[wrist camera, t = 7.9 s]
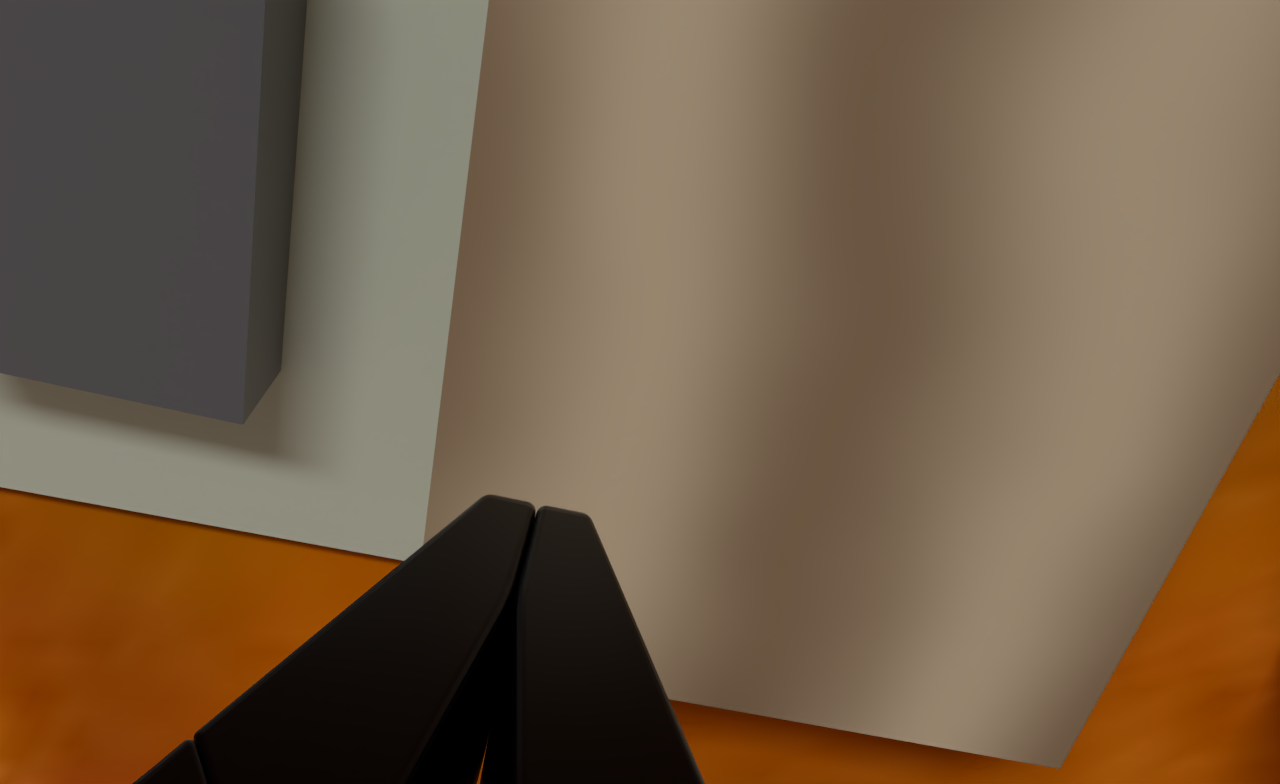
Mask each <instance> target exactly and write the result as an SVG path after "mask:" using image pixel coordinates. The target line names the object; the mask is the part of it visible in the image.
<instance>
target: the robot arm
mask: <svg viewBox="0 0 1280 784" xmlns="http://www.w3.org/2000/svg"><path fill="white" fill-rule="evenodd" d="M535 514H536V515H535ZM487 741H488V742H487ZM486 746H487V747H486ZM485 750H486V753H485ZM484 754H485V758H484ZM483 758H484V763H483V769H482V774H481V780H480V784H705V783H704V780H703V778H702V776H701V773H700V771H699V769H698V766H697V764H696V761H695V759H694V757H693V754H692V752H691V750H690V747H689V745H688V743H687V740H686V738H685V736H684V733H683V731H682V729H681V726H680V724H679V722H678V719H677V717H676V715H675V712H674V710H673V708H672V705H671V703H670V701H669V698H668V696H667V694H666V691H665V689H664V687H663V684H662V682H661V680H660V677H659V675H658V673H657V670H656V668H655V666H654V663H653V661H652V659H651V656H650V654H649V652H648V649H647V647H646V645H645V642H644V640H643V638H642V635H641V633H640V631H639V628H638V626H637V624H636V621H635V619H634V617H633V614H632V612H631V610H630V607H629V605H628V603H627V600H626V598H625V596H624V593H623V591H622V589H621V586H620V584H619V582H618V579H617V577H616V575H615V572H614V570H613V568H612V565H611V563H610V561H609V558H608V556H607V554H606V551H605V549H604V547H603V544H602V542H601V540H600V537H599V535H598V533H597V530H596V528H595V526H594V523H593V521H592V519H591V518H590V517H589V516H588V515H587V514H585V513H582V512H577V511H572V510H567V509H562V508H557V507H552V506H542V507H540V508H539V509H538V510H537V513H536V509H535V506H534V505H533V504H532V503H530V502H528V501H523V500H518V499H513V498H508V497H503V496H498V495H492V494H488V495H485V496H483V497H481V498H480V499H479V500H477V501H476V502H475V503H474V504H472V505H471V506H470V507H469V508H468V509H466V510H465V511H464V512H463V513H462V514H460V515H459V516H458V517H457V518H456V519H454V520H453V521H452V522H451V523H449V524H448V525H447V526H446V527H445V528H443V529H442V530H441V531H440V532H439V533H437V534H436V535H435V536H434V537H432V538H431V539H430V540H429V541H428V542H426V543H425V544H424V545H423V546H422V547H420V548H419V549H418V550H417V551H415V552H414V553H413V554H412V555H411V556H409V557H408V558H407V559H406V560H405V561H403V562H402V563H401V564H400V565H399V566H397V567H396V568H395V569H394V570H392V571H391V572H390V573H389V574H388V575H386V576H385V577H384V578H383V579H382V580H380V581H379V582H378V583H377V584H375V585H374V586H373V587H372V588H371V589H369V590H368V591H367V592H366V593H365V594H363V595H362V596H361V597H360V598H358V599H357V600H356V601H355V602H354V603H352V604H351V605H350V606H349V607H348V608H346V609H345V610H344V611H343V612H342V613H340V614H339V615H338V616H337V617H335V618H334V619H333V620H332V621H331V622H329V623H328V624H327V625H326V626H325V627H323V628H322V629H321V630H320V631H318V632H317V633H316V634H315V635H314V636H312V637H311V638H310V639H309V640H308V641H306V642H305V643H304V644H303V645H301V646H300V647H299V648H298V649H297V650H295V651H294V652H293V653H292V654H291V655H289V656H288V657H287V658H286V659H284V660H283V661H282V662H281V663H280V664H278V665H277V666H276V667H275V668H274V669H272V670H271V671H270V672H269V673H267V674H266V675H265V676H264V677H263V678H261V679H260V680H259V681H258V682H257V683H255V684H254V685H253V686H252V687H251V688H249V689H248V690H247V691H246V692H244V693H243V694H242V695H241V696H240V697H238V698H237V699H236V700H235V701H234V702H232V703H231V704H230V705H229V706H227V707H226V708H225V709H224V710H223V711H221V712H220V713H219V714H218V715H217V716H215V717H214V718H213V719H212V720H210V721H209V722H208V723H207V724H206V725H204V726H203V727H202V728H201V729H200V730H198V731H197V732H196V733H195V735H194V741H192V740H186V741H184V742H183V743H181V744H180V745H179V746H178V747H177V748H176V749H174V750H173V751H172V752H171V753H170V754H168V755H167V756H166V757H165V758H164V759H162V760H161V761H160V762H159V763H158V764H156V765H155V766H154V767H153V768H152V769H150V770H149V771H148V772H147V773H145V774H144V775H143V776H142V777H140V778H139V779H138V780H137V781H135V782H134V783H133V784H477V781H478V777H479V773H480V769H481V766H482V762H483Z"/></svg>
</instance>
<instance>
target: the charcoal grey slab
mask: <svg viewBox="0 0 1280 784" xmlns="http://www.w3.org/2000/svg"><path fill="white" fill-rule="evenodd" d="M306 10H307V0H0V373H2V374H7V375H12V376H16V377H21V378H26V379H30V380H35V381H40V382H44V383H49V384H54V385H59V386H63V387H68V388H73V389H77V390H82V391H87V392H91V393H96V394H101V395H105V396H110V397H115V398H120V399H124V400H129V401H134V402H138V403H143V404H148V405H152V406H157V407H162V408H166V409H171V410H176V411H180V412H185V413H190V414H195V415H199V416H204V417H209V418H213V419H218V420H223V421H227V422H232V423H237V424H241V425H243V424H244V423H245V421H246V420H247V418H248V417H249V415H250V414H251V413H252V411H253V410H254V408H255V407H256V405H257V404H258V402H259V401H260V400H261V398H262V397H263V395H264V394H265V392H266V391H267V390H268V388H269V387H270V385H271V384H272V382H273V381H274V380H275V378H276V377H277V375H278V374H279V372H280V371H281V362H282V348H283V334H284V320H285V306H286V292H287V278H288V264H289V250H290V236H291V221H292V207H293V193H294V179H295V165H296V151H297V137H298V123H299V109H300V95H301V81H302V67H303V52H304V38H305V24H306Z"/></svg>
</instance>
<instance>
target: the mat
mask: <svg viewBox="0 0 1280 784" xmlns="http://www.w3.org/2000/svg"><path fill="white" fill-rule="evenodd" d="M488 3H489V0H307V10H306V24H305V38H304V52H303V67H302V81H301V95H300V109H299V123H298V137H297V151H296V165H295V179H294V193H293V207H292V221H291V236H290V250H289V264H288V278H287V292H286V306H285V320H284V334H283V348H282V362H281V371H280V372H279V374H278V375H277V377H276V378H275V380H274V381H273V382H272V384H271V385H270V387H269V388H268V390H267V391H266V392H265V394H264V395H263V397H262V398H261V400H260V401H259V402H258V404H257V405H256V407H255V408H254V410H253V411H252V413H251V414H250V415H249V417H248V418H247V420H246V421H245V423H244V424H243V425H241V424H237V423H232V422H227V421H223V420H218V419H213V418H209V417H204V416H199V415H195V414H190V413H185V412H180V411H176V410H171V409H166V408H162V407H157V406H152V405H148V404H143V403H138V402H134V401H129V400H124V399H120V398H115V397H110V396H105V395H101V394H96V393H91V392H87V391H82V390H77V389H73V388H68V387H63V386H59V385H54V384H49V383H44V382H40V381H35V380H30V379H26V378H21V377H16V376H12V375H7V374H2V373H0V487H3V488H8V489H14V490H19V491H25V492H30V493H36V494H41V495H47V496H52V497H58V498H63V499H69V500H74V501H80V502H85V503H91V504H96V505H101V506H107V507H112V508H118V509H123V510H129V511H134V512H140V513H145V514H151V515H156V516H162V517H167V518H173V519H178V520H184V521H189V522H195V523H200V524H205V525H211V526H216V527H222V528H227V529H233V530H238V531H244V532H249V533H255V534H260V535H266V536H271V537H277V538H282V539H288V540H293V541H299V542H304V543H309V544H315V545H320V546H326V547H331V548H337V549H342V550H348V551H353V552H359V553H364V554H370V555H375V556H381V557H386V558H392V559H397V560H402V561H405V560H406V559H407V558H408V557H409V556H411V555H412V554H413V553H414V552H415V551H417V550H418V549H419V548H420V547H422V546H423V542H424V534H425V526H426V517H427V509H428V501H429V492H430V484H431V476H432V468H433V459H434V451H435V443H436V434H437V426H438V418H439V409H440V401H441V393H442V385H443V376H444V368H445V360H446V351H447V343H448V335H449V326H450V318H451V310H452V302H453V293H454V285H455V277H456V268H457V260H458V252H459V244H460V235H461V227H462V219H463V210H464V202H465V194H466V185H467V177H468V169H469V161H470V152H471V144H472V136H473V127H474V119H475V111H476V102H477V94H478V86H479V78H480V69H481V61H482V53H483V44H484V36H485V28H486V19H487V11H488Z"/></svg>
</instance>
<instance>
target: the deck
mask: <svg viewBox="0 0 1280 784" xmlns="http://www.w3.org/2000/svg"><path fill="white" fill-rule="evenodd" d="M1279 374H1280V0H489V3H488V11H487V19H486V28H485V36H484V44H483V53H482V61H481V69H480V78H479V86H478V94H477V102H476V111H475V119H474V127H473V136H472V144H471V152H470V161H469V169H468V177H467V185H466V194H465V202H464V210H463V219H462V227H461V235H460V244H459V252H458V260H457V268H456V277H455V285H454V293H453V302H452V310H451V318H450V326H449V335H448V343H447V351H446V360H445V368H444V376H443V385H442V393H441V401H440V409H439V418H438V426H437V434H436V443H435V451H434V459H433V468H432V476H431V484H430V492H429V501H428V509H427V517H426V526H425V534H424V542H423V545H424V544H425V543H426V542H428V541H429V540H430V539H431V538H432V537H434V536H435V535H436V534H437V533H439V532H440V531H441V530H442V529H443V528H445V527H446V526H447V525H448V524H449V523H451V522H452V521H453V520H454V519H456V518H457V517H458V516H459V515H460V514H462V513H463V512H464V511H465V510H466V509H468V508H469V507H470V506H471V505H472V504H474V503H475V502H476V501H477V500H479V499H480V498H481V497H483V496H485V495H488V494H492V495H498V496H503V497H508V498H513V499H518V500H523V501H528V502H530V503H532V504H533V505H534V506H535V509H536V513H537V510H538V509H539V508H540V507H542V506H552V507H557V508H562V509H567V510H572V511H577V512H582V513H585V514H587V515H588V516H589V517H590V518H591V519H592V521H593V523H594V526H595V528H596V530H597V533H598V535H599V537H600V540H601V542H602V544H603V547H604V549H605V551H606V554H607V556H608V558H609V561H610V563H611V565H612V568H613V570H614V572H615V575H616V577H617V579H618V582H619V584H620V586H621V589H622V591H623V593H624V596H625V598H626V600H627V603H628V605H629V607H630V610H631V612H632V614H633V617H634V619H635V621H636V624H637V626H638V628H639V631H640V633H641V635H642V638H643V640H644V642H645V645H646V647H647V649H648V652H649V654H650V656H651V659H652V661H653V663H654V666H655V668H656V670H657V673H658V675H659V677H660V680H661V682H662V684H663V687H664V689H665V691H666V694H667V696H668V698H669V699H671V700H676V701H682V702H687V703H693V704H699V705H704V706H710V707H715V708H721V709H727V710H732V711H738V712H744V713H749V714H755V715H760V716H766V717H772V718H777V719H783V720H788V721H794V722H800V723H805V724H811V725H816V726H822V727H828V728H833V729H839V730H845V731H850V732H856V733H861V734H867V735H873V736H878V737H884V738H889V739H895V740H901V741H906V742H912V743H917V744H923V745H929V746H934V747H940V748H946V749H951V750H957V751H962V752H968V753H974V754H979V755H985V756H990V757H996V758H1002V759H1007V760H1013V761H1018V762H1024V763H1030V764H1035V765H1041V766H1047V767H1052V768H1058V769H1060V768H1061V766H1062V764H1063V762H1064V760H1065V759H1066V757H1067V755H1068V753H1069V751H1070V750H1071V748H1072V746H1073V744H1074V742H1075V741H1076V739H1077V737H1078V735H1079V733H1080V732H1081V730H1082V728H1083V726H1084V724H1085V723H1086V721H1087V719H1088V717H1089V715H1090V714H1091V712H1092V710H1093V708H1094V706H1095V705H1096V703H1097V701H1098V699H1099V698H1100V696H1101V694H1102V692H1103V690H1104V689H1105V687H1106V685H1107V683H1108V681H1109V680H1110V678H1111V676H1112V674H1113V672H1114V671H1115V669H1116V667H1117V665H1118V663H1119V662H1120V660H1121V658H1122V656H1123V654H1124V653H1125V651H1126V649H1127V647H1128V645H1129V644H1130V642H1131V640H1132V638H1133V636H1134V635H1135V633H1136V631H1137V629H1138V627H1139V626H1140V624H1141V622H1142V620H1143V618H1144V617H1145V615H1146V613H1147V611H1148V610H1149V608H1150V606H1151V604H1152V602H1153V601H1154V599H1155V597H1156V595H1157V593H1158V592H1159V590H1160V588H1161V586H1162V584H1163V583H1164V581H1165V579H1166V577H1167V575H1168V574H1169V572H1170V570H1171V568H1172V566H1173V565H1174V563H1175V561H1176V559H1177V557H1178V556H1179V554H1180V552H1181V550H1182V548H1183V547H1184V545H1185V543H1186V541H1187V539H1188V538H1189V536H1190V534H1191V532H1192V530H1193V529H1194V527H1195V525H1196V523H1197V522H1198V520H1199V518H1200V516H1201V514H1202V513H1203V511H1204V509H1205V507H1206V505H1207V504H1208V502H1209V500H1210V498H1211V496H1212V495H1213V493H1214V491H1215V489H1216V487H1217V486H1218V484H1219V482H1220V480H1221V478H1222V477H1223V475H1224V473H1225V471H1226V469H1227V468H1228V466H1229V464H1230V462H1231V460H1232V459H1233V457H1234V455H1235V453H1236V451H1237V450H1238V448H1239V446H1240V444H1241V442H1242V441H1243V439H1244V437H1245V435H1246V434H1247V432H1248V430H1249V428H1250V426H1251V425H1252V423H1253V421H1254V419H1255V417H1256V416H1257V414H1258V412H1259V410H1260V408H1261V407H1262V405H1263V403H1264V401H1265V399H1266V398H1267V396H1268V394H1269V392H1270V390H1271V389H1272V387H1273V385H1274V383H1275V381H1276V380H1277V378H1278V376H1279ZM535 515H536V514H535Z"/></svg>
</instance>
